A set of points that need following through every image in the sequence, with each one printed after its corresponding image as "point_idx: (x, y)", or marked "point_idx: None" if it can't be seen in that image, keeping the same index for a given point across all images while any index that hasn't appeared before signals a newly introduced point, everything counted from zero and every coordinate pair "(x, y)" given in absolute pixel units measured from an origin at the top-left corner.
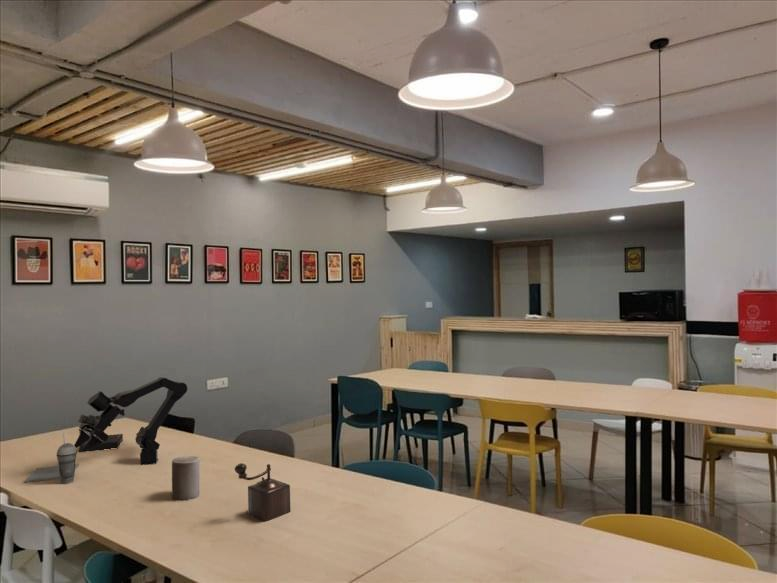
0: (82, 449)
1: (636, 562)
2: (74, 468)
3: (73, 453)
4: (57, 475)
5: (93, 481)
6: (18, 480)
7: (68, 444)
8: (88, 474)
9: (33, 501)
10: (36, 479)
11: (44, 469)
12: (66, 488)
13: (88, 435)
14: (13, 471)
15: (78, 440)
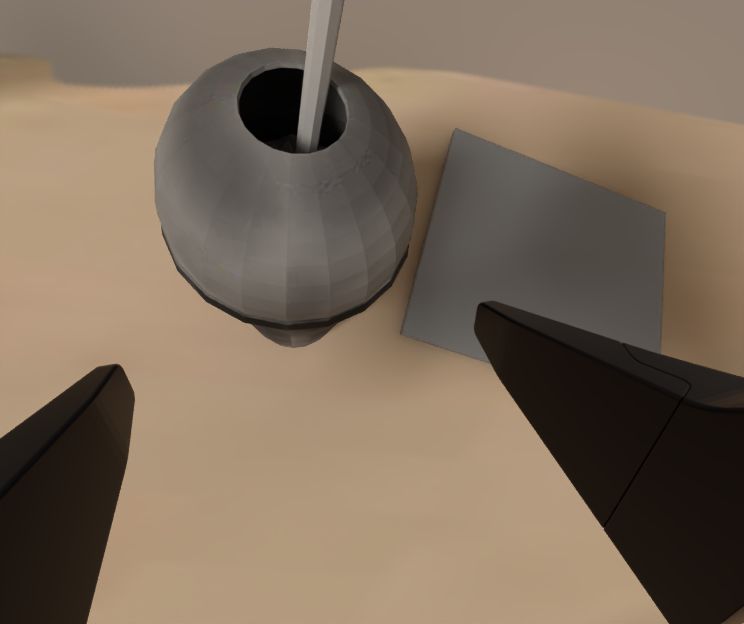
0: (78, 383)
1: None
2: (266, 333)
3: (178, 265)
4: (458, 275)
5: (162, 471)
6: (508, 122)
7: (229, 124)
8: (387, 454)
9: (12, 98)
10: (446, 175)
11: (623, 237)
12: (138, 285)
13: (728, 598)
14: (673, 134)
15: (563, 359)
